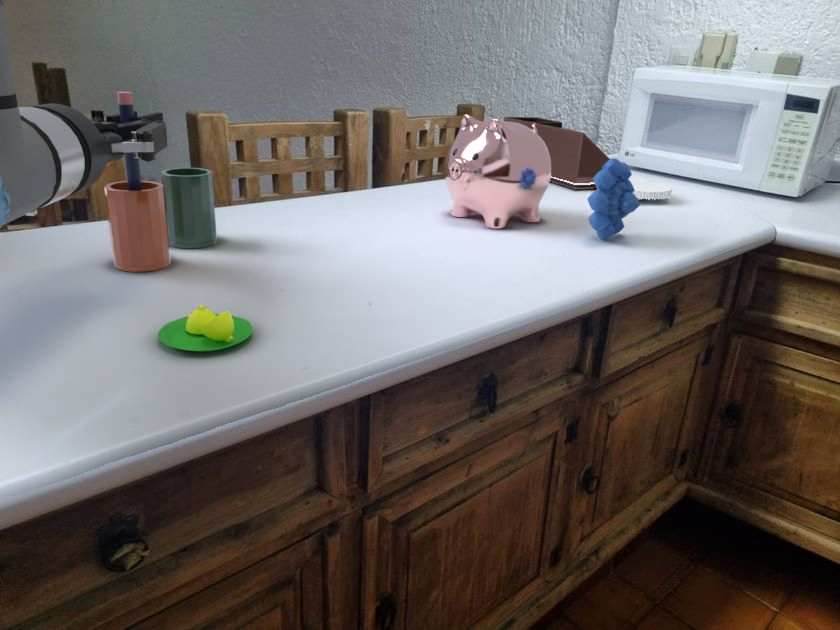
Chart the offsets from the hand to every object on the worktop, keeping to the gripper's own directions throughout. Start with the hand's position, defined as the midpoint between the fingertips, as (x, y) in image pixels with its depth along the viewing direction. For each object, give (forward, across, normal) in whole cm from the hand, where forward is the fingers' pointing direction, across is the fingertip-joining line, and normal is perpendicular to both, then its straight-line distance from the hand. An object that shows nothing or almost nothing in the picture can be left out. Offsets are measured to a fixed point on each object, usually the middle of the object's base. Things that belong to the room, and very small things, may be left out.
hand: (147, 124), depth 75 cm
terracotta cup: (-6, 0, -15) cm, 16 cm away
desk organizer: (+69, +62, -15) cm, 94 cm away
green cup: (+4, +3, -15) cm, 16 cm away
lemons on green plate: (-25, +13, -15) cm, 32 cm away
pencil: (-6, 0, -14) cm, 15 cm away
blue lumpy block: (+15, +60, -15) cm, 64 cm away
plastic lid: (+49, +75, -15) cm, 91 cm away
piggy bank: (+25, +44, -15) cm, 53 cm away
